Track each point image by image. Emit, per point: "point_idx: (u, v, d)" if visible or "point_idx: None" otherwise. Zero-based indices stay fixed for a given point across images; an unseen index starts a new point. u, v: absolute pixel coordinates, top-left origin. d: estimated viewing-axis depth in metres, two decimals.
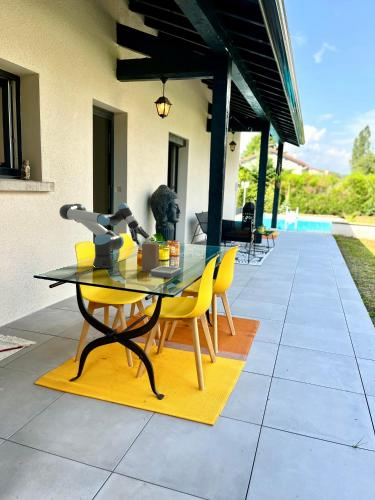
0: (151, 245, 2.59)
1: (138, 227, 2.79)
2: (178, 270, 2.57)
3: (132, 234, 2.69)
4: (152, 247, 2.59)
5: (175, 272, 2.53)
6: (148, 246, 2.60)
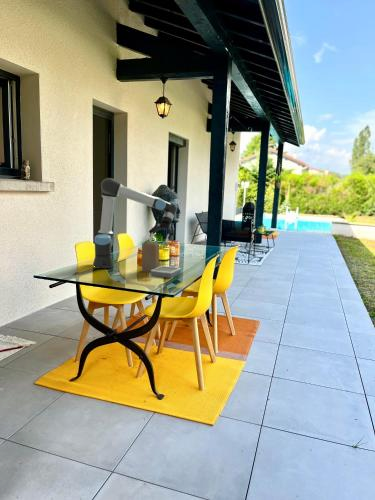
0: (151, 245, 2.59)
1: None
2: (178, 270, 2.57)
3: (173, 229, 2.76)
4: (152, 247, 2.59)
5: (175, 272, 2.53)
6: (148, 246, 2.60)
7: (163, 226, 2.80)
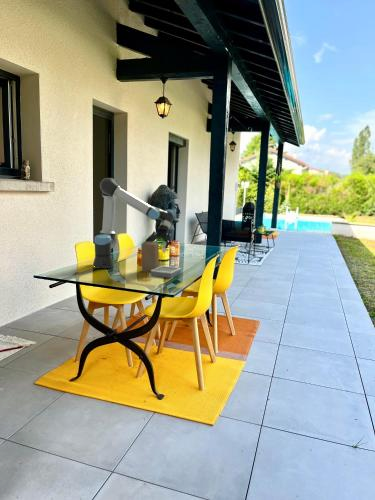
0: (150, 245, 2.58)
1: None
2: (178, 270, 2.57)
3: (170, 238, 2.71)
4: (151, 248, 2.58)
5: (175, 272, 2.53)
6: (147, 246, 2.58)
7: (160, 235, 2.74)
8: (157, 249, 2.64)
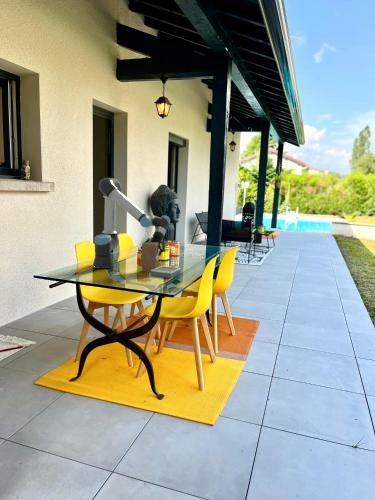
0: (151, 245, 2.59)
1: None
2: (178, 270, 2.57)
3: (164, 246, 2.67)
4: (152, 248, 2.59)
5: (175, 272, 2.53)
6: (148, 246, 2.59)
7: (155, 241, 2.70)
8: (157, 249, 2.65)
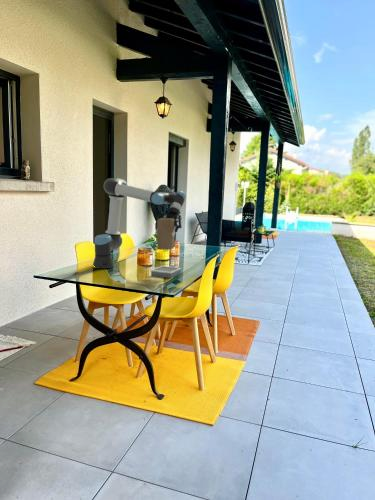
0: (167, 220, 2.46)
1: None
2: (178, 270, 2.57)
3: (180, 222, 2.53)
4: (168, 223, 2.46)
5: (175, 272, 2.53)
6: (164, 221, 2.46)
7: None
8: (173, 225, 2.52)
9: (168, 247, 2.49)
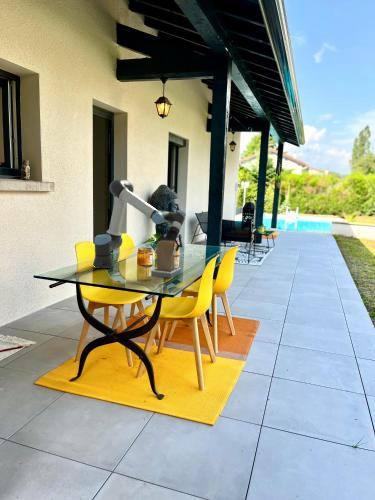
0: (167, 243, 2.48)
1: None
2: (178, 270, 2.57)
3: (181, 241, 2.55)
4: (167, 246, 2.48)
5: (175, 272, 2.53)
6: (163, 244, 2.49)
7: (170, 237, 2.58)
8: (173, 248, 2.54)
9: (167, 269, 2.51)
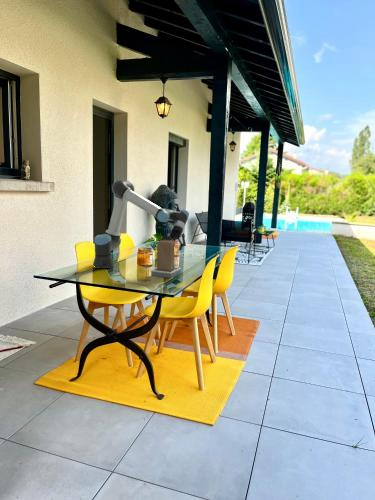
0: (167, 243, 2.48)
1: None
2: (178, 270, 2.57)
3: (184, 240, 2.59)
4: (167, 246, 2.48)
5: (175, 272, 2.53)
6: (163, 244, 2.49)
7: (174, 236, 2.62)
8: (173, 248, 2.54)
9: (167, 269, 2.51)
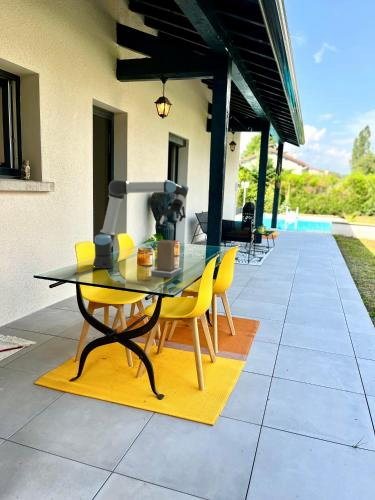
0: (166, 243, 2.48)
1: None
2: (178, 270, 2.57)
3: (184, 212, 2.73)
4: (167, 246, 2.48)
5: (175, 272, 2.53)
6: (163, 244, 2.49)
7: (174, 209, 2.76)
8: (173, 248, 2.54)
9: (167, 269, 2.51)
